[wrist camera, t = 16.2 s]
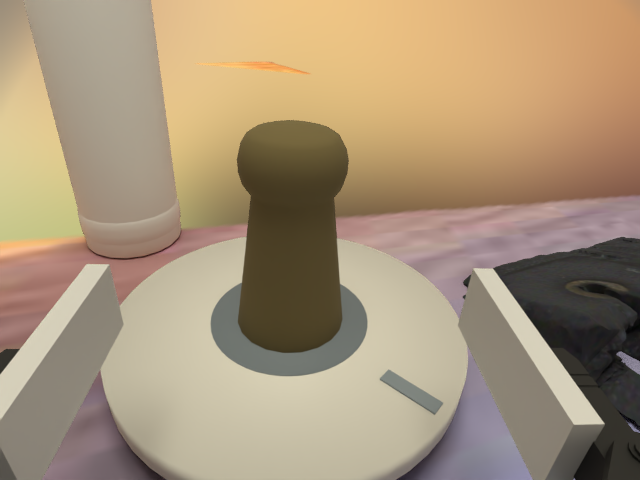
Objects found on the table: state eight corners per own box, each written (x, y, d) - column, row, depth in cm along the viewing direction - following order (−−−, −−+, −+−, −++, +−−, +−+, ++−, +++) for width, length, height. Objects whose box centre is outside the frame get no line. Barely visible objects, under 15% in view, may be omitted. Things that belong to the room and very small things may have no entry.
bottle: (69, 236, 37) (-70, -257, 23) (151, 209, 43) (82, -205, 28) (115, 271, 33) (-21, -311, 18) (200, 236, 38) (148, -237, 24)
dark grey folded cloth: (817, 337, 31) (862, 283, 28) (635, 456, 22) (678, 391, 19) (612, 240, 42) (631, 196, 40) (439, 291, 34) (451, 238, 31)
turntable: (41, 341, 24) (33, 319, 23) (287, 225, 38) (287, 209, 37) (297, 649, 13) (298, 627, 12) (515, 331, 27) (522, 311, 26)
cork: (363, 328, 24) (388, 135, 19) (266, 369, 21) (262, 153, 16) (307, 275, 28) (314, 106, 23) (221, 302, 25) (205, 116, 20)
